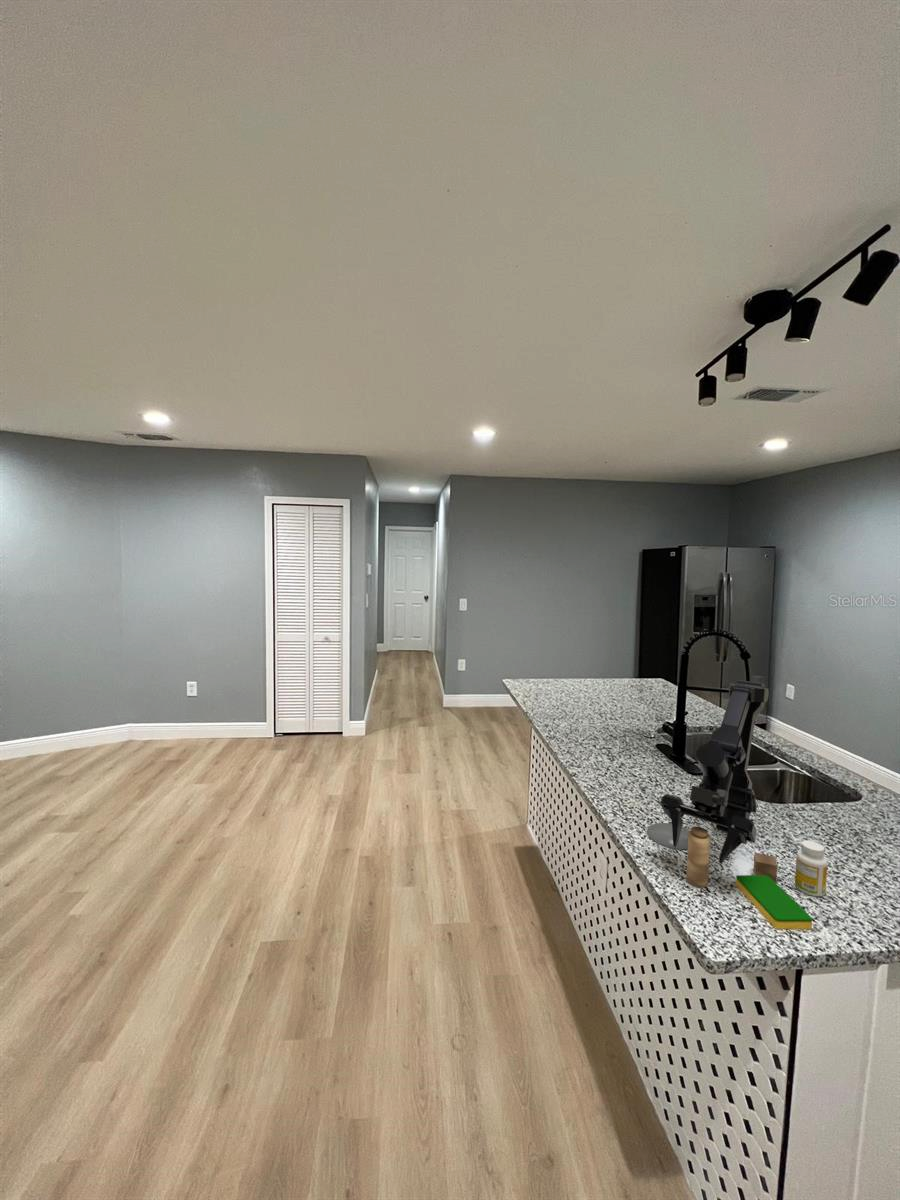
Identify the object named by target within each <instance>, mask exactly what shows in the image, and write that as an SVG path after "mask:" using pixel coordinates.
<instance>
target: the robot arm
mask: <svg viewBox="0 0 900 1200" xmlns="http://www.w3.org/2000/svg"><path fill="white" fill-rule="evenodd" d="M769 691H770V690H769V688H766V687H765V683H762V682H755V681H754V682H753V681H748V680H742V679H738V680H736V682H735V681H734V683H732V682H731V683H729V689H728V697H729V700H728V703H727V705H726V709H725V712H724V715H723V719H722V722H721V724H720V726H719V727H717V728H716V729H715V730H713V731H712V733H711V735H710V737H709V739H707V740H706V741H705V742H704V744H701V746H698V748H697V749H696V752H695V757H696V760H697V762H698V764H699V765H698V766H699V768H700V771H701V773H702V774H703V775H702V778H701V782H699V784H698V786H695V785H692V786H691V791H690V796H689V801H691V805H692V806H689V805H686V804H684V802H683V800H682V798H681V797H678V796H674V795H671V794H668V793H666V794H664V795H662V796H661V798H660V802H659V805H660V806H661V808H662V810H663V813H664V814H666V815H667V816H668V818H669V819H670V821H671V822H670V823H671V824H672V832H673V845H674V847H676V846H677V844H678V841H679V837H680V833H681V828H682V827H683V823H684V820H683V818H684V816H685V815H686V816H689V817H692V818H696V819H699V820H702V821H705V822H707V823H711V824H714V825H715V827H716V828H717V829H719V830H722V831H725V832H727V833H726V837H725V840H724V843H723V846H722V848H721V851H720V854H719V858H718V863H719V864H720V865H722V864H723V863H724V862H725V860H726V859H727V858H728V857H729V856H730V855H731V853H733V852H734V850H736V849H737V848H738V847H739V846H740V845H742V844H744V845H747V844H748V843H755V842H756V837H757V829H756V828H757V827H756V826H755V822H753V820H752V819H750V814H751V815H752V813H756V812H757V799H756V796H755V790H754V789H753V782H752V780H751V777H750V775H749V774H748V768H749V760H750V755H751V749H752V741H753V735H754V728H755V722H756V717H757V716H758V715H759V714H760V713H761V712H762V711H763V710H764V709H765V703H767V702H768V700H769V694H770V693H769ZM682 817H683V818H682Z"/></svg>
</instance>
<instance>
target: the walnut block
mask: <svg viewBox="0 0 900 1200" xmlns="http://www.w3.org/2000/svg"><path fill="white" fill-rule="evenodd" d="M777 863H778V862H777V857H776V856H774V855H769V854H764V853H761V852H757V851H756V852H754V857H753V873H754V875H766V876H769V877H770V878H771V879H772V880H773V881H774V882H775V883H776V884H777V877H778V864H777Z"/></svg>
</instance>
